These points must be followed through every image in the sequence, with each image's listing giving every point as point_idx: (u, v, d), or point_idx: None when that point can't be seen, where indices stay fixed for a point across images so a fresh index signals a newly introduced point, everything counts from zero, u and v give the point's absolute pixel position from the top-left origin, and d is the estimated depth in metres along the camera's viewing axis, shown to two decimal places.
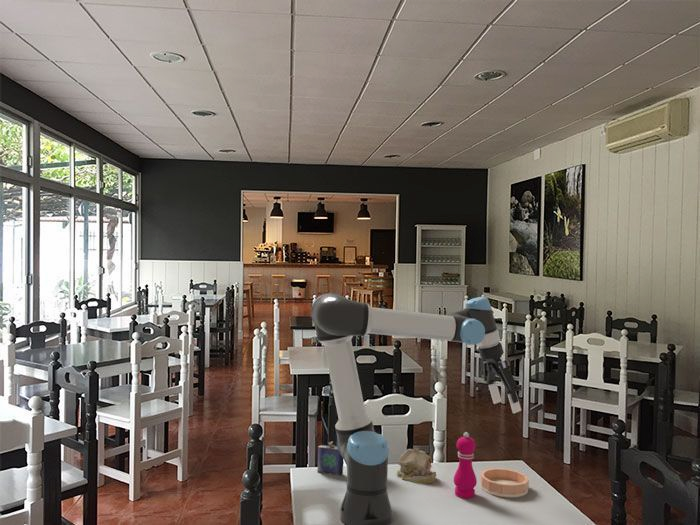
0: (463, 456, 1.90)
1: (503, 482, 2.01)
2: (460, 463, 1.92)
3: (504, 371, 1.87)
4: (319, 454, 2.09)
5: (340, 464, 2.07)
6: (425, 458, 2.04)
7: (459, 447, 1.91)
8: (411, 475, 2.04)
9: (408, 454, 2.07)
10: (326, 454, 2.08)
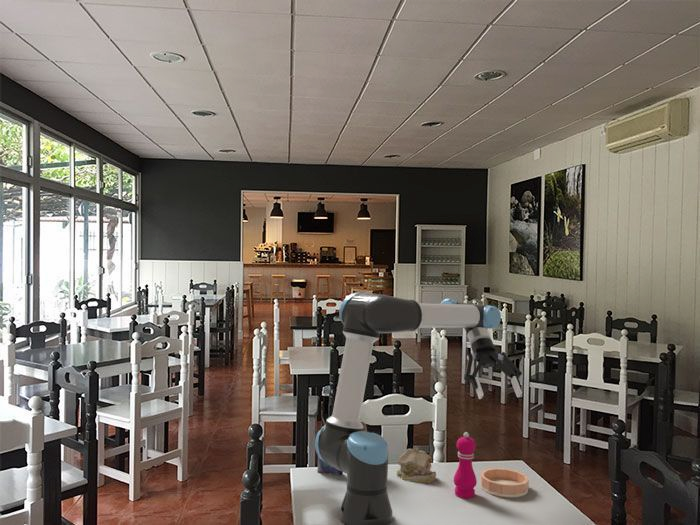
0: (463, 456, 1.90)
1: (503, 482, 2.01)
2: (460, 463, 1.92)
3: None
4: None
5: None
6: (425, 458, 2.04)
7: (459, 447, 1.91)
8: (411, 475, 2.04)
9: (408, 454, 2.08)
10: None
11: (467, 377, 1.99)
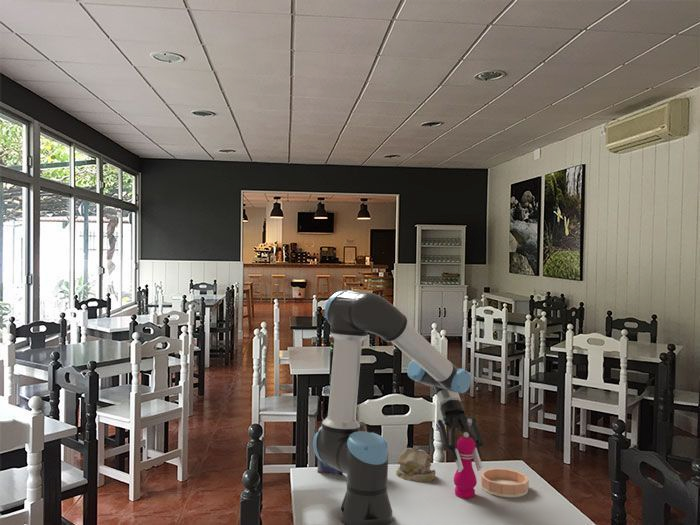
0: (463, 456, 1.90)
1: (503, 482, 2.01)
2: None
3: None
4: None
5: None
6: (425, 456, 2.06)
7: (459, 447, 1.91)
8: (411, 474, 2.05)
9: (407, 453, 2.09)
10: None
11: (447, 448, 1.92)
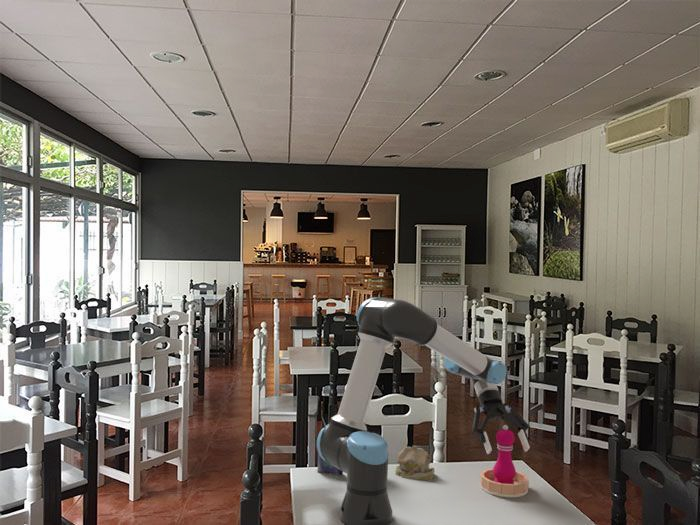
0: (503, 448, 1.96)
1: None
2: (500, 455, 1.97)
3: None
4: None
5: None
6: (424, 455, 2.08)
7: (499, 439, 1.97)
8: (411, 472, 2.07)
9: (407, 452, 2.10)
10: None
11: (475, 431, 1.98)
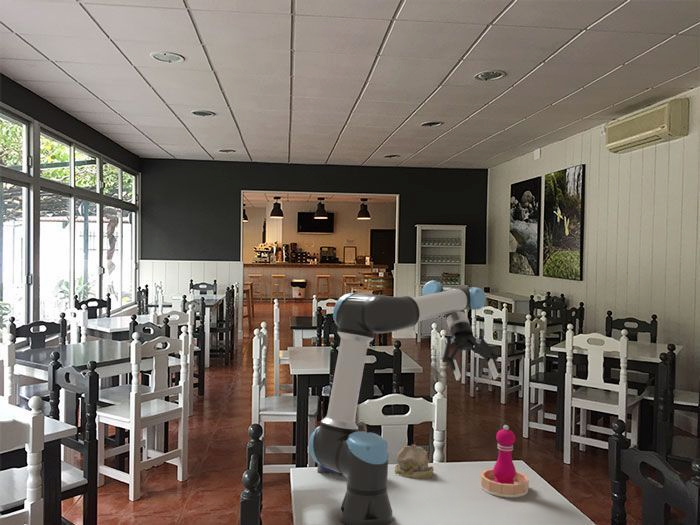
0: (503, 448, 1.96)
1: None
2: (500, 455, 1.97)
3: None
4: None
5: None
6: (424, 454, 2.09)
7: (499, 439, 1.97)
8: (411, 471, 2.08)
9: (406, 451, 2.11)
10: None
11: (445, 359, 2.04)
